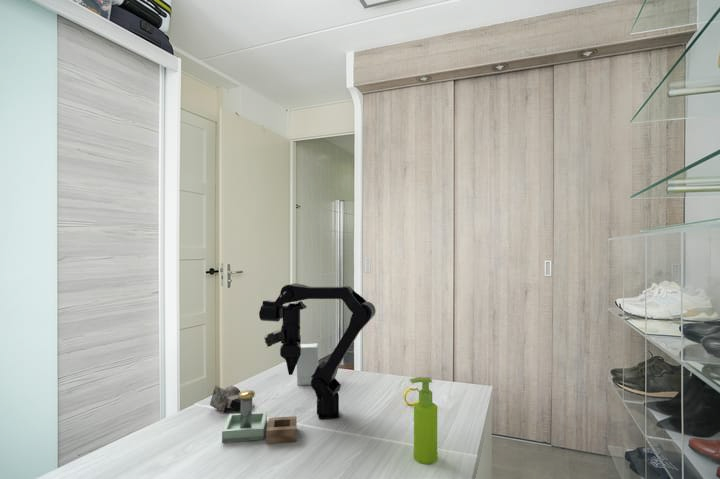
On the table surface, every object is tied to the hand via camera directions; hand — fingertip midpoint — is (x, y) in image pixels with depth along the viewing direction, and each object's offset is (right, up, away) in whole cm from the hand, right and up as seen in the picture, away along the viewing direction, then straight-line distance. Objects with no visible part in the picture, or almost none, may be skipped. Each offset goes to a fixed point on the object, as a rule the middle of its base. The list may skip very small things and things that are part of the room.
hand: (290, 370), depth 126 cm
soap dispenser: (+39, -13, -28) cm, 50 cm away
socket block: (+1, -13, -17) cm, 21 cm away
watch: (+41, -14, +5) cm, 43 cm away
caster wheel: (-19, -13, +2) cm, 24 cm away
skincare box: (+2, -14, +25) cm, 29 cm away
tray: (-10, -13, -15) cm, 22 cm away
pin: (-10, -12, -15) cm, 22 cm away
